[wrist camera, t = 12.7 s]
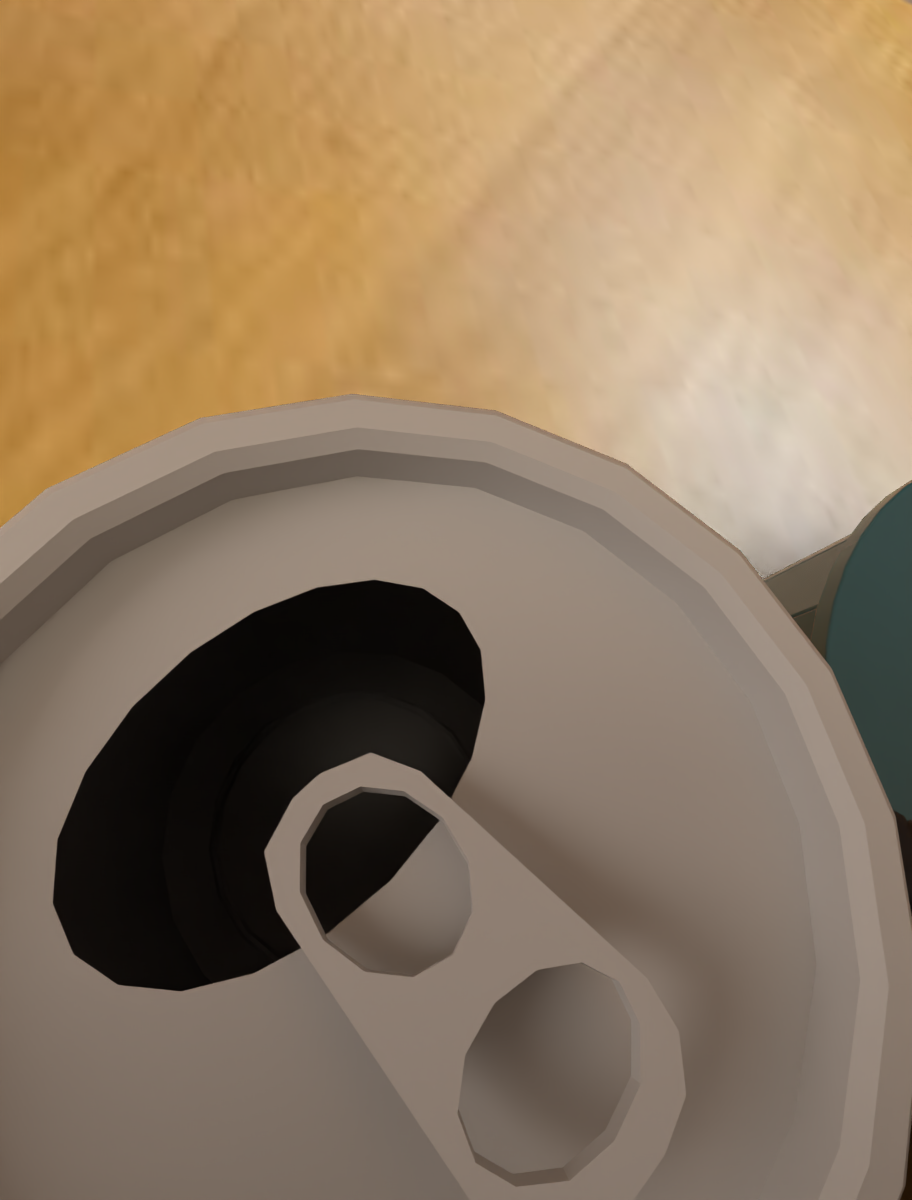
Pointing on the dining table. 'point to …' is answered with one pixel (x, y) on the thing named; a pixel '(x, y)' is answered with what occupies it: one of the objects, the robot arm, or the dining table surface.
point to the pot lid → (875, 638)
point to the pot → (804, 584)
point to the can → (429, 835)
